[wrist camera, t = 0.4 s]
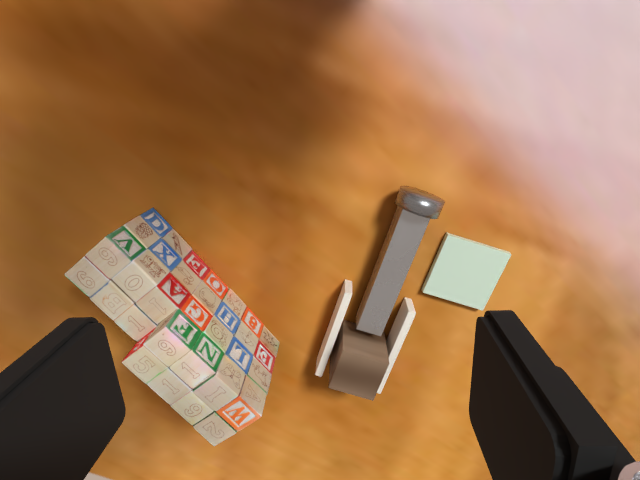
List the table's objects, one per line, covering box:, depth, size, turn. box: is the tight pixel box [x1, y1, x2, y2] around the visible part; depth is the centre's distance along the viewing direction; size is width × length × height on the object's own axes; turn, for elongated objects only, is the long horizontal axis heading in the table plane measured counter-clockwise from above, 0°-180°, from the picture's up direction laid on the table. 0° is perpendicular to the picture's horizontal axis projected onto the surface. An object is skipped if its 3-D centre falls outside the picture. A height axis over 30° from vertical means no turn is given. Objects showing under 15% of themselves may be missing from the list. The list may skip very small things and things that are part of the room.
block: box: [329, 320, 389, 401], centre depth 45 cm, size 5×5×6 cm
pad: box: [422, 232, 511, 310], centre depth 44 cm, size 7×7×1 cm
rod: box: [356, 186, 445, 336], centre depth 42 cm, size 16×4×4 cm, turn 163°
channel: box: [315, 279, 416, 394], centre depth 46 cm, size 11×8×3 cm
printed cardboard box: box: [64, 208, 279, 446], centre depth 42 cm, size 21×6×12 cm, turn 39°
